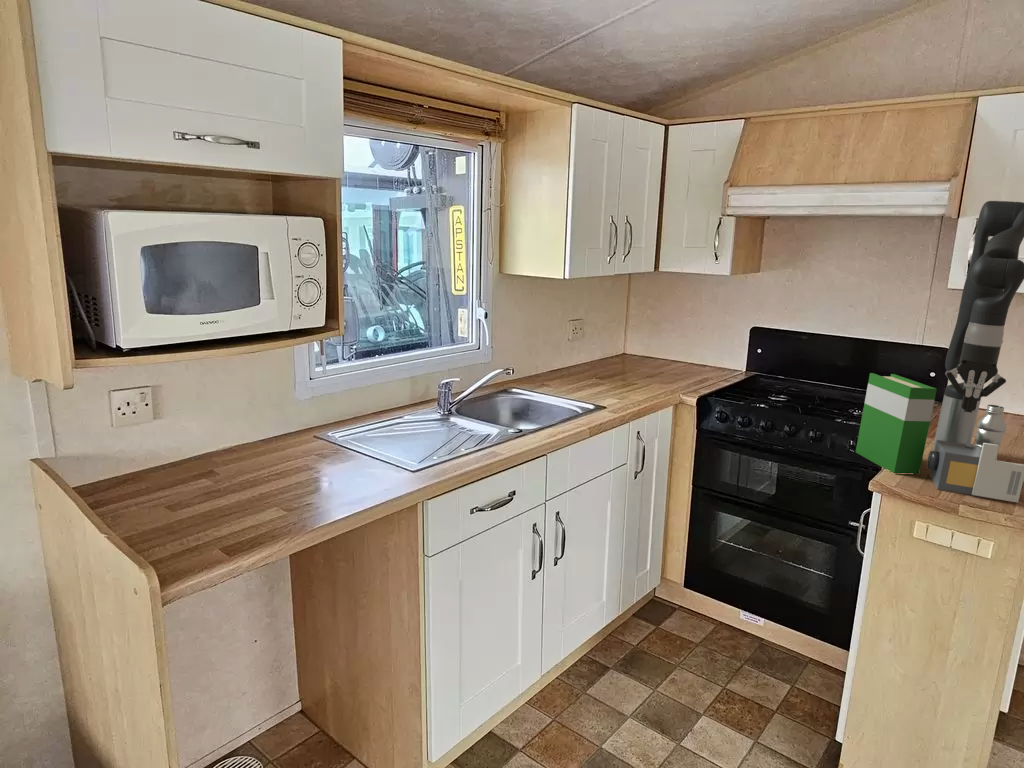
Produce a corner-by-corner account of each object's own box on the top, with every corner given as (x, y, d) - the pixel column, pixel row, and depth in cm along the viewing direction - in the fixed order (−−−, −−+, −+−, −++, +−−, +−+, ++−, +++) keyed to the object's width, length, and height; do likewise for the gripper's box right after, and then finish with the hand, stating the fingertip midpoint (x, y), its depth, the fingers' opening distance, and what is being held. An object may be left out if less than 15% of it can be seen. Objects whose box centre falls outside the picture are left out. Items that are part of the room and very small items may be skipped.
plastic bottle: (966, 470, 192) (982, 401, 187) (995, 477, 188) (1012, 406, 183) (963, 476, 187) (979, 405, 182) (993, 483, 183) (1010, 411, 178)
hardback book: (855, 452, 203) (870, 373, 197) (878, 452, 203) (893, 374, 198) (893, 473, 186) (910, 387, 180) (919, 474, 186) (936, 388, 181)
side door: (971, 493, 173) (983, 442, 169) (1016, 501, 169) (1029, 449, 166) (972, 495, 172) (984, 443, 168) (1018, 502, 168) (1030, 450, 165)
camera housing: (922, 473, 187) (930, 435, 185) (971, 481, 183) (980, 443, 180) (930, 488, 176) (939, 448, 174) (983, 497, 172) (992, 456, 170)
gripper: (1010, 343, 166) (994, 412, 170) (947, 337, 171) (933, 404, 175) (1019, 348, 159) (1003, 419, 163) (954, 341, 164) (939, 411, 168)
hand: (967, 411), depth 169 cm, fingers closed
